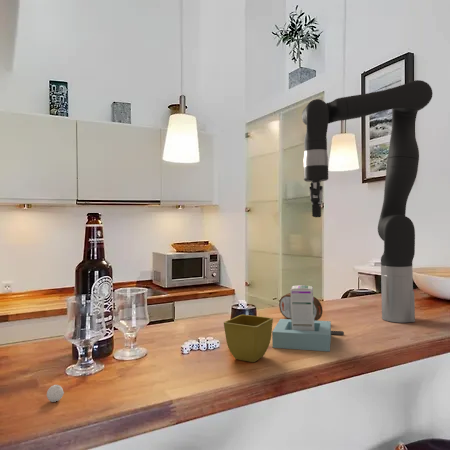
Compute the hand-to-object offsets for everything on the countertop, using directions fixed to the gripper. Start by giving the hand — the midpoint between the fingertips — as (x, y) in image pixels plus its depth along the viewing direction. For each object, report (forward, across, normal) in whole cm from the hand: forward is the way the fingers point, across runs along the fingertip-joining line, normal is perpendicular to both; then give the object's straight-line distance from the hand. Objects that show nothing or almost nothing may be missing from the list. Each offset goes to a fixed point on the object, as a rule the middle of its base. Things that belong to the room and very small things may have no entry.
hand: (316, 217), depth 126 cm
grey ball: (+33, -68, +43) cm, 87 cm away
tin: (+33, +1, +6) cm, 34 cm away
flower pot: (+33, -38, +14) cm, 52 cm away
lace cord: (+33, -14, +2) cm, 36 cm away
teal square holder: (+33, -22, +3) cm, 40 cm away
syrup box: (+33, -22, +3) cm, 40 cm away
